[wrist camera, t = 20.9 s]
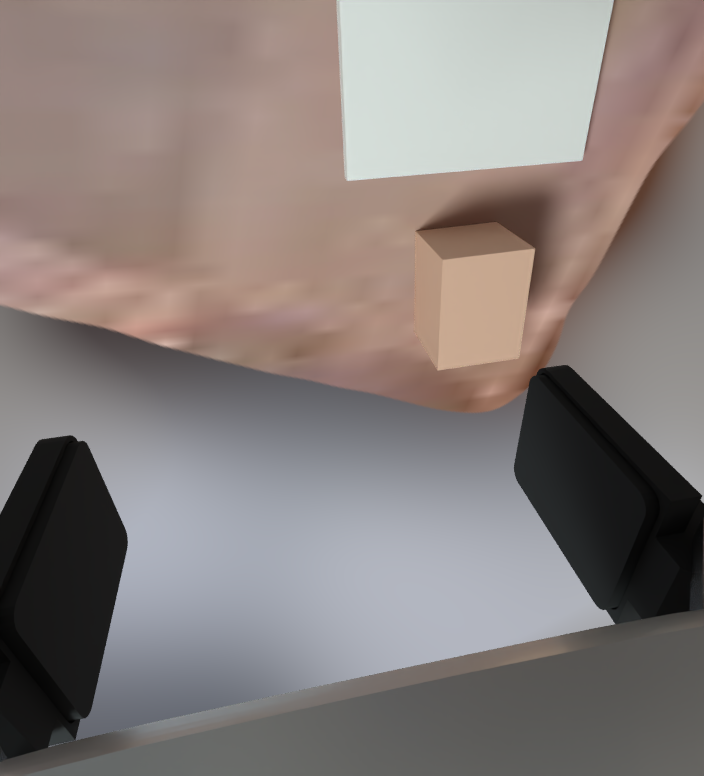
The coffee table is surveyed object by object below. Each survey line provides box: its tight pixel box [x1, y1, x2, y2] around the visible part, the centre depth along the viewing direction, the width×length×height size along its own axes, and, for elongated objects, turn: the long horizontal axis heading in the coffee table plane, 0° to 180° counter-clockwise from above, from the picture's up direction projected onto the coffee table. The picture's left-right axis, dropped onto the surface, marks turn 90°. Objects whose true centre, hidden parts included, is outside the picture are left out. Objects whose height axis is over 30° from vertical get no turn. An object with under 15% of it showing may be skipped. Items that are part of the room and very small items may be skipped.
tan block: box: [414, 222, 535, 370], centre depth 36 cm, size 8×6×6 cm
